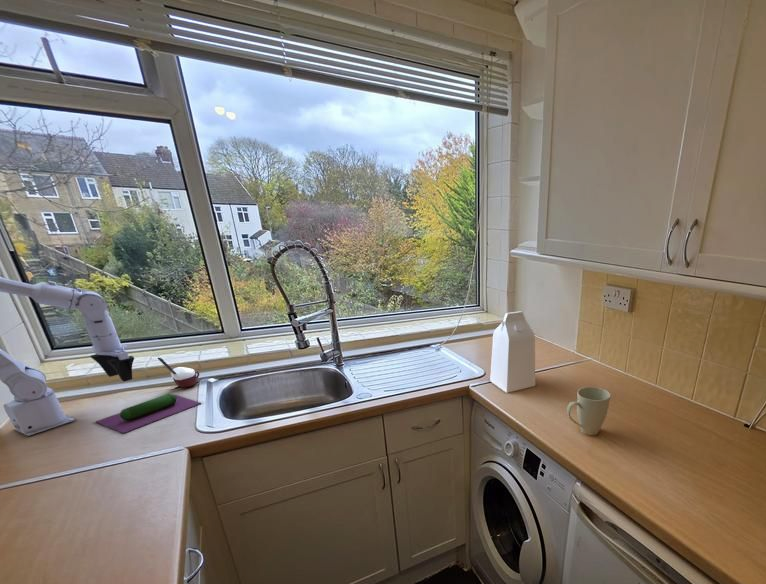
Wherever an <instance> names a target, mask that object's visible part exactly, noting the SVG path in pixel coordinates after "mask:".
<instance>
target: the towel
mask: <svg viewBox="0 0 766 584" xmlns="http://www.w3.org/2000/svg"><path fill="white" fill-rule="evenodd" d="M172 394H173V393H172ZM173 395H174V396H176V398H177V401H176V403H175V404H173V405H170V406H168V407H165V408H162V409H160V410H157V411H154V412H151V413H149V414H146V415H143V416H141V417H138V418H135V419H132V420H123V419H122V418H121V417H120V412H119V413H116V414H113V415H110V416H108V417H105V418H102V419H99V420H96V421H95V423H97V424H98V425H100V426H101V425H102V426H104V427H107V428H109V429H112V430H114V431H116V432H119V433H121V434H127V433H129V432H132V431H134V430H137V429H140V428H143V427H145V426H147V425H150V424H152V423H155V422H157V421H160V420H162V419H163V420H164V419H166V418H169V417H171V416H173V415H176V414H179V413H181V412H183V411H186V410H189V409H191V408H194V407H196V406H199V405H201V404H202V402H199V401H196V400H194V399H190V398H187V397H183V396H180V395H177V394H173Z"/></svg>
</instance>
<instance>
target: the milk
mask: <svg viewBox="0 0 766 584" xmlns="http://www.w3.org/2000/svg"><path fill="white" fill-rule="evenodd" d="M491 347H492V348H491V359H490V361H491V362H490V375H489V377H490V378H489V381H490V382H491V384H493V385H495V386H496V387H498V388H499V389H500V390H502V391H503V392H505V393H506V394H507V393H511V392H515V391H520V390H525V389H527V388H532V387H535V386H536V335H535V333H534V331H533V329H532V328H531V325H530V324H529V323H528V321H527V320H526V317H525V314H524V312H523V311H522V310H517V311H511V312H510V311H509V312H505V314H504V317H503V320H502V322H501V323H500V324H499V325H498V326H497V327H496V328H495V329H494V331H493V333H492V344H491Z"/></svg>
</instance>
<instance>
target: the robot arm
mask: <svg viewBox="0 0 766 584" xmlns="http://www.w3.org/2000/svg"><path fill="white" fill-rule="evenodd" d="M0 293H5V294H12V295H17V296H18V295H19V296H22V297H28V298H31V299H32V300H33V301H34V302H35V303H36V304H40V305H44V306H45V305H46V306H50V307H55V308H61V309H66V310H78V311H79V312H80V313H81V315H82V318H83V320H82V322H83V324H84V327H85V329H86V332H87V334H88V337H89V339H90V341H91V344H92V345H91V348H92V350H93V352H94V354H92V355H90V358H91V359H92V360H93V361H95V362H96V363H97V364H98V365H99V366H100V367H101V369H102V370H103V371H104V373H105V374H106V375H107V376H108V377H109V378H111V377H115V376H119V379H120V380H121V381H122V382H123V383H124V382H127V381H131V380H133V363H134V361H135V356H133V355H129V353H128V351H126V350H125V349H128V345H127V344H122V343H121V341H120V338H119V335H118V333H117V330H116V327H115V325H114V322H113V320H112V317H111V316H110V314H109V313H110V312H109V311H108V310H107V308H108V303H107V302H106V301H105V299H104V298H103V297H102V295H100V294H99V293H97V292H95V291H92V290H89V289H84V290H83V288H80V287H76V288H72V287H67V286H63V285H59V284H57V282H55V281H51V280H48V281H47V282H45V281H39V282H37V283H34V284H31V283H27V282H23V281H18V280H14V279H10V278H6V277H2V276H0ZM0 382H1V383H3V384H4V385H6V386H7V388H8V390H9V392H10V394H11V395H13V400H12V401H9V402H6V403H4V404H3V408H4V411H5V413H6V415H7V416H8V418H9V420H10V422H11V424H12V425H13V428H14V430H15V431H17V432H19V433H21V434H23V435H25V436H27V437H29V436H34V435H36V434H39V433H43V432H45V431H48V430H51V429H54V428H57V427H60V426H63V425H66V424H69V423H72V422H74V421H75V419H74V418H73V417H70V416H68V415H66V414H65V412H64V409H63V407H62V405H61V403H60V401H59V399H58V397H57V395H56V393H55V391H54V389H53V388H50V387H49V386H47V376H46V374H45V373H44V372H43V371H42V370H40V369H37V368H34V367H30V366H29V365H26V364H25V363H24V362H22V361H19V360H17V359H15V358H14V357H13V356H11V355H10V354H9V353H7V352H6V351H4V350H3V349H1V348H0Z"/></svg>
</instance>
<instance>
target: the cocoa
mask: <svg viewBox="0 0 766 584" xmlns="http://www.w3.org/2000/svg"><path fill="white" fill-rule="evenodd" d="M157 360H158V361H159V362H160V363H161V364H162V365H163V366H164V367H165V368H166V369H167V370H168V371H169V372H170V375H171V378H172V380H173V381H174V383H175V384H176V386H178V387H179V388H184V389H185V388H186V389H187V388H191V387H193V386H195V384H196V383H197V382H198V379H199V377H200V372H199V371H195V369H194V368H189V367H185V366H178V367H174V368H172V367H171V366H170V365H169V364H168V363H167V362H166V361H165V360H164V359H163V358H162V357H157Z"/></svg>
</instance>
